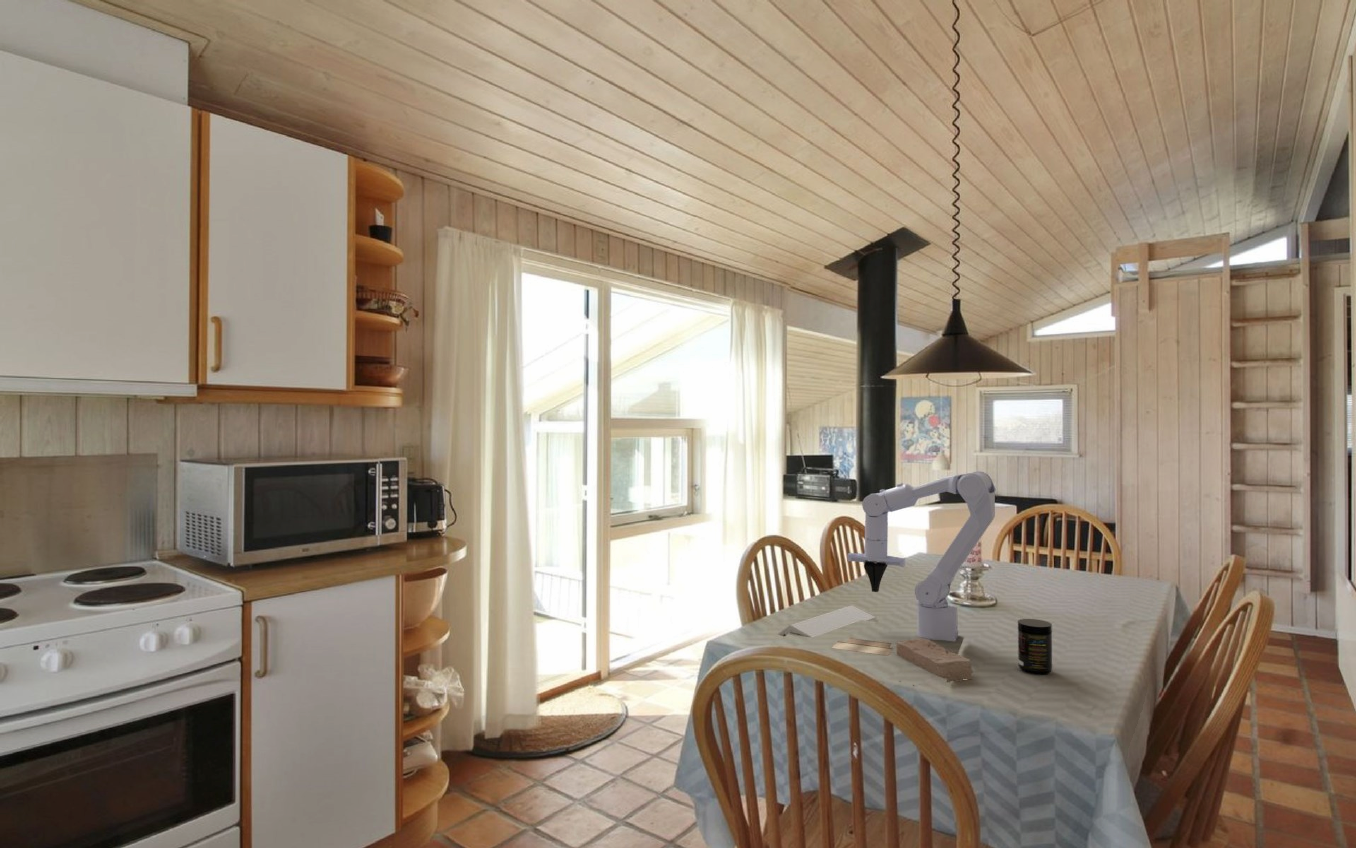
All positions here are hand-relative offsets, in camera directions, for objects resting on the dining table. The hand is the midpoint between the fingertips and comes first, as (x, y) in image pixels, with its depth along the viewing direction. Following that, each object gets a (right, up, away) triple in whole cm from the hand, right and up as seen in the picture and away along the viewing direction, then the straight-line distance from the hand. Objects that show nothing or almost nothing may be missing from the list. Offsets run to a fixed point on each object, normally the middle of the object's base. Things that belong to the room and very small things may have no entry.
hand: (875, 591), depth 189 cm
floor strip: (-8, -10, -19) cm, 23 cm away
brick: (+5, -11, -30) cm, 32 cm away
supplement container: (+26, -10, -31) cm, 42 cm away
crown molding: (-11, -11, +4) cm, 16 cm away
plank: (-5, -10, -13) cm, 17 cm away
